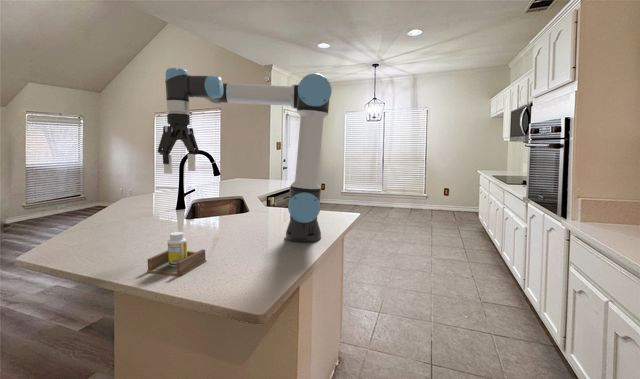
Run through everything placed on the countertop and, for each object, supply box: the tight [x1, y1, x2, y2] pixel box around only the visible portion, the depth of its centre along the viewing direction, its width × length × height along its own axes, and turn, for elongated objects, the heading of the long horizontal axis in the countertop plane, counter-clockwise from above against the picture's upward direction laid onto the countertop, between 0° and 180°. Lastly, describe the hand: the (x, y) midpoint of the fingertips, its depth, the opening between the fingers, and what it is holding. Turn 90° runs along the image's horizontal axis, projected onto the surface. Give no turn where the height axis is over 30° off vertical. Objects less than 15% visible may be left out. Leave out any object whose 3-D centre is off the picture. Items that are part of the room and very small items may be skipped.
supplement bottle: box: [167, 231, 188, 267], centre depth 104 cm, size 6×6×10 cm
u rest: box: [146, 249, 207, 277], centre depth 105 cm, size 12×13×4 cm
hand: (180, 172), depth 122 cm, fingers open, 13 cm apart
